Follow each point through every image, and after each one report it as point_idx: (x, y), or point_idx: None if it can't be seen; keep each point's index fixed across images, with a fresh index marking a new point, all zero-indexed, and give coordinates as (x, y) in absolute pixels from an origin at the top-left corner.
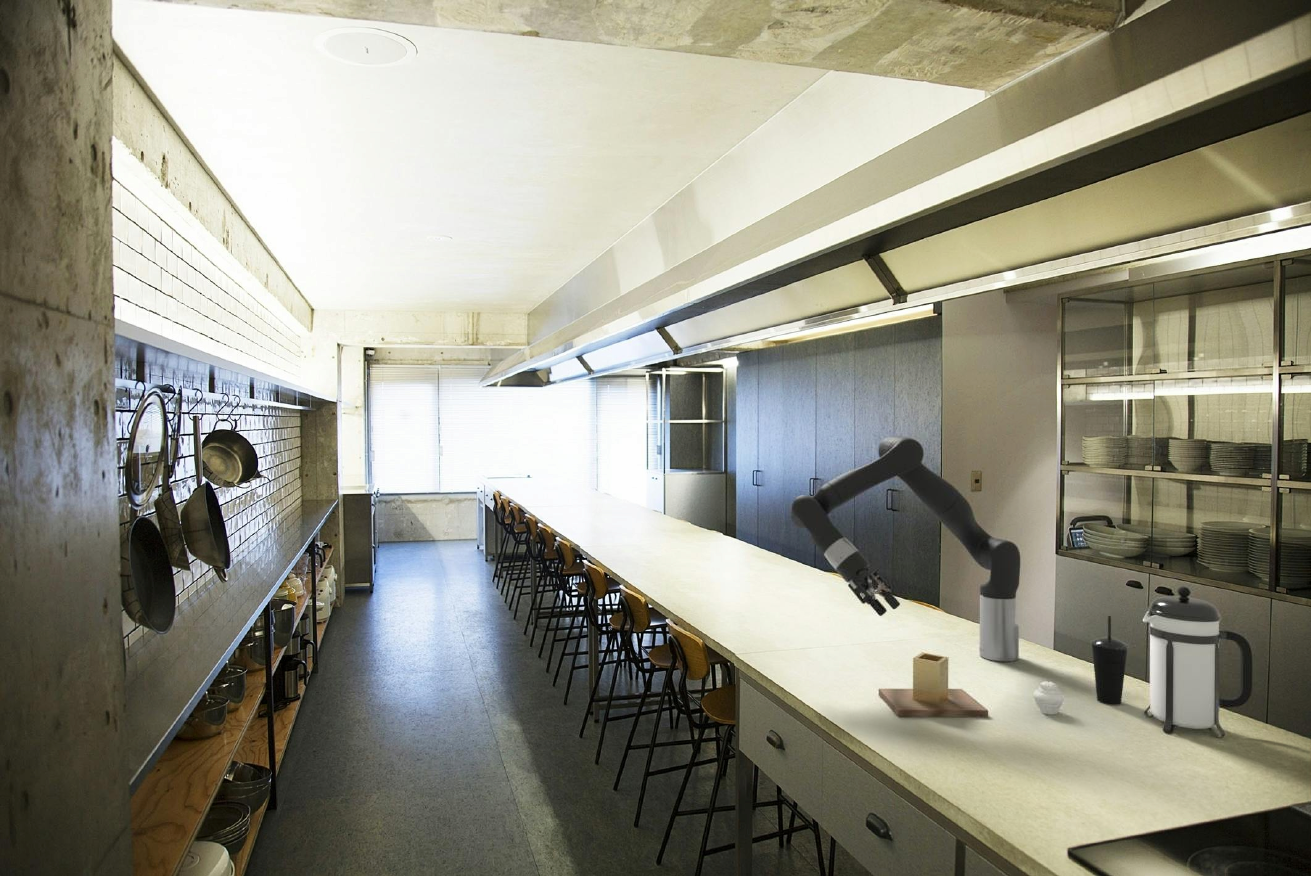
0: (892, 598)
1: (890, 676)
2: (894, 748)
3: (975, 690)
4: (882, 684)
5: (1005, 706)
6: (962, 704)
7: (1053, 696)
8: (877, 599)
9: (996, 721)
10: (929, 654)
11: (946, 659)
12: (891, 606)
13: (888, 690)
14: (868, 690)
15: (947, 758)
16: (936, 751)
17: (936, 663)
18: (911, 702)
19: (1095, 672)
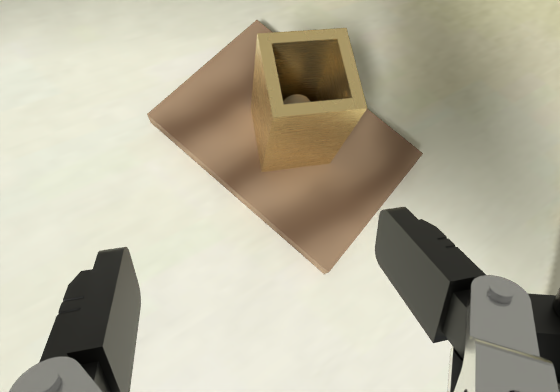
0: (119, 306)
1: (135, 350)
2: (547, 89)
3: (83, 113)
4: (232, 319)
5: (156, 26)
6: None
7: None
8: (444, 275)
9: (267, 12)
10: (277, 89)
11: (277, 34)
12: (138, 315)
13: (320, 243)
14: (314, 316)
15: (500, 15)
16: (493, 37)
17: (347, 39)
18: (352, 155)
19: None
